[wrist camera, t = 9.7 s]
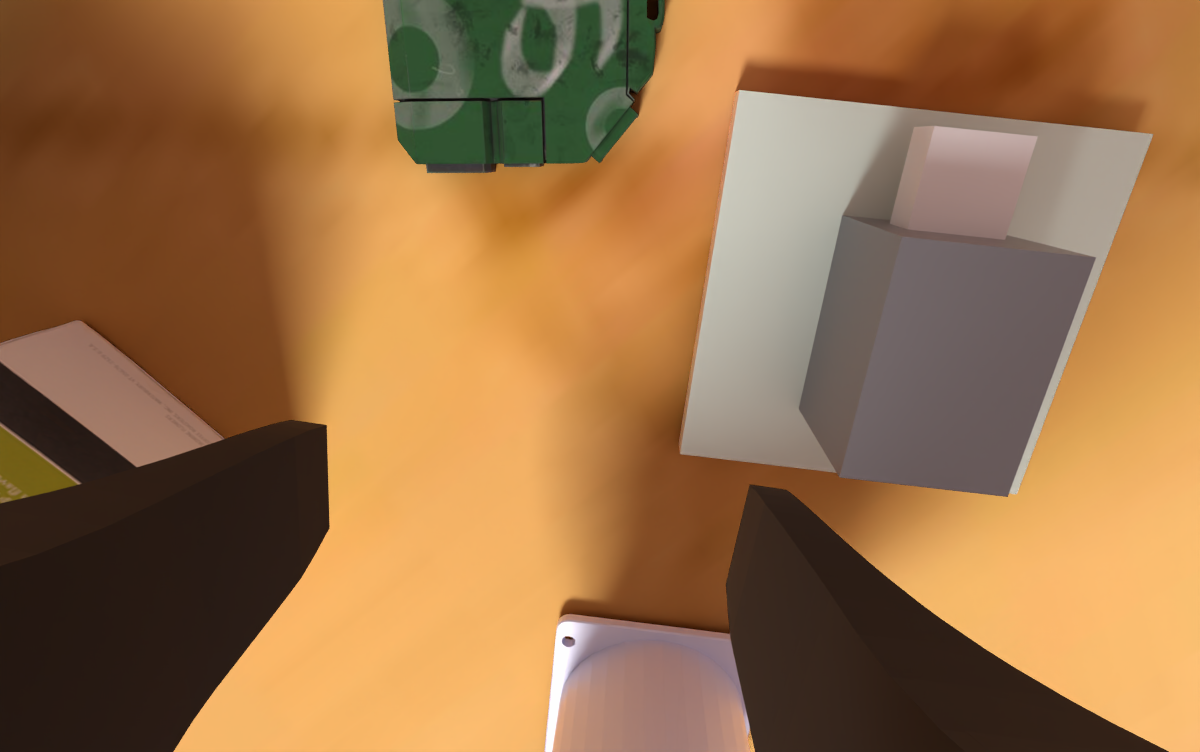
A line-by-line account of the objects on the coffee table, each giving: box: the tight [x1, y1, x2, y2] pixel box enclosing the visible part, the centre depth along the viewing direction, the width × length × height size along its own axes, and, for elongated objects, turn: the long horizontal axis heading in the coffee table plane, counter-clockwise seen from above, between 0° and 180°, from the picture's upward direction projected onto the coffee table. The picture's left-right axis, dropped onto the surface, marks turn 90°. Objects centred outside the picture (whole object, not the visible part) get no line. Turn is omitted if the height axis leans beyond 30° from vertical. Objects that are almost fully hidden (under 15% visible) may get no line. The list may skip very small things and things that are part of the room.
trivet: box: [679, 90, 1153, 494], centre depth 19 cm, size 11×11×1 cm
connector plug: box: [799, 126, 1096, 497], centre depth 17 cm, size 8×4×4 cm, turn 174°
